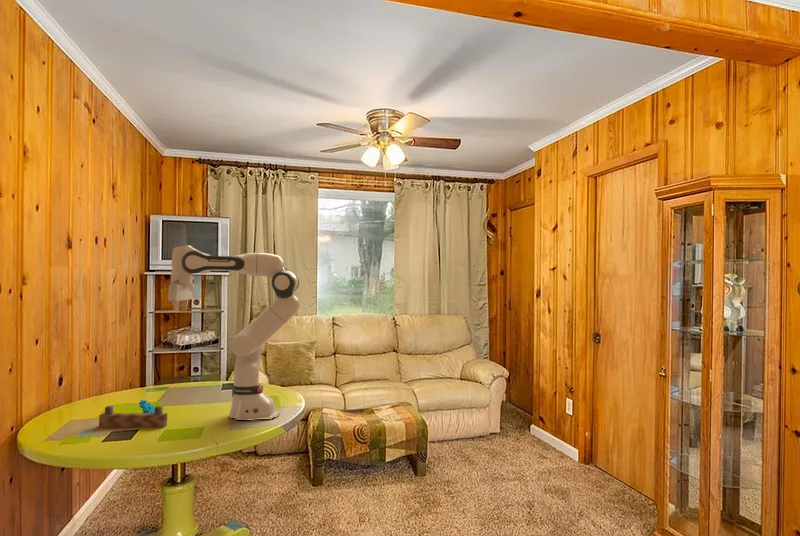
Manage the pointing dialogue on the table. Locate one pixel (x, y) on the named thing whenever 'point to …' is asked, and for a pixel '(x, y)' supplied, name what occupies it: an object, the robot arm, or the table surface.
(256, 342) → the robot arm
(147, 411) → the gear
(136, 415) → the stop bar
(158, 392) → the table surface
